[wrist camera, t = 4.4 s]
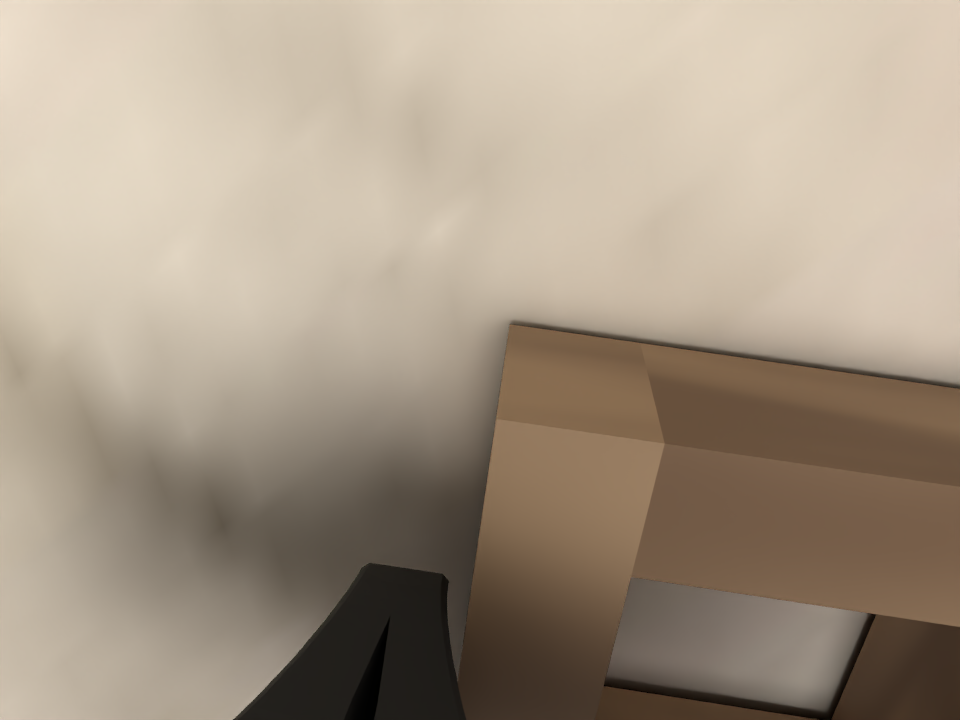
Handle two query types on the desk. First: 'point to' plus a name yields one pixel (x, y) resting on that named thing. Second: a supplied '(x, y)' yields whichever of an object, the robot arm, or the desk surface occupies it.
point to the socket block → (708, 521)
